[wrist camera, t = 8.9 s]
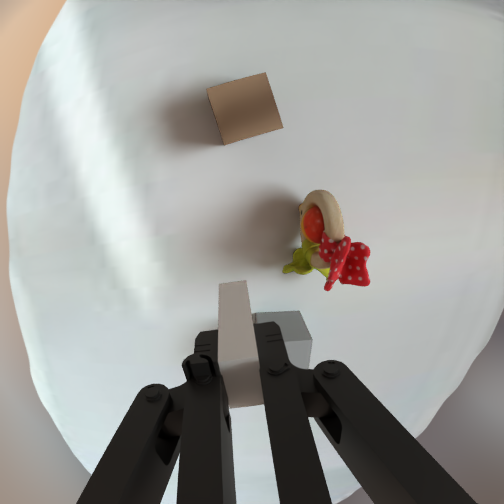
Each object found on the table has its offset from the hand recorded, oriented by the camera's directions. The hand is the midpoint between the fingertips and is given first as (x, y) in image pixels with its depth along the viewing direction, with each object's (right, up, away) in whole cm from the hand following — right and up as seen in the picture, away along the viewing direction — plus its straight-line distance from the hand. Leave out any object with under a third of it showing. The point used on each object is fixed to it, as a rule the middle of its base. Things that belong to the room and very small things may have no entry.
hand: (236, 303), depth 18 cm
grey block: (+4, -6, +19) cm, 20 cm away
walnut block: (0, +16, +11) cm, 19 cm away
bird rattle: (+7, +5, +15) cm, 17 cm away
